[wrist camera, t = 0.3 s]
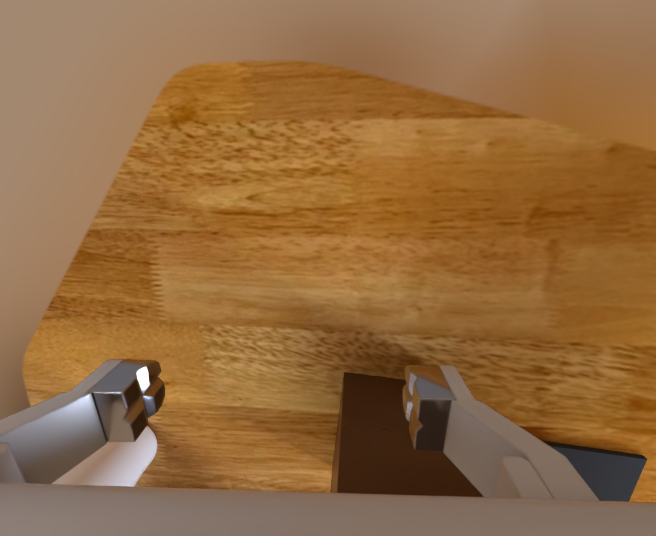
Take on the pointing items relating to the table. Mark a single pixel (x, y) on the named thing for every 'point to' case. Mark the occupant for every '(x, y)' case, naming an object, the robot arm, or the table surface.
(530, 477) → the robot arm
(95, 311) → the table surface
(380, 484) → the stand
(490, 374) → the table surface
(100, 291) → the table surface
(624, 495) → the mat
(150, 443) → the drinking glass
